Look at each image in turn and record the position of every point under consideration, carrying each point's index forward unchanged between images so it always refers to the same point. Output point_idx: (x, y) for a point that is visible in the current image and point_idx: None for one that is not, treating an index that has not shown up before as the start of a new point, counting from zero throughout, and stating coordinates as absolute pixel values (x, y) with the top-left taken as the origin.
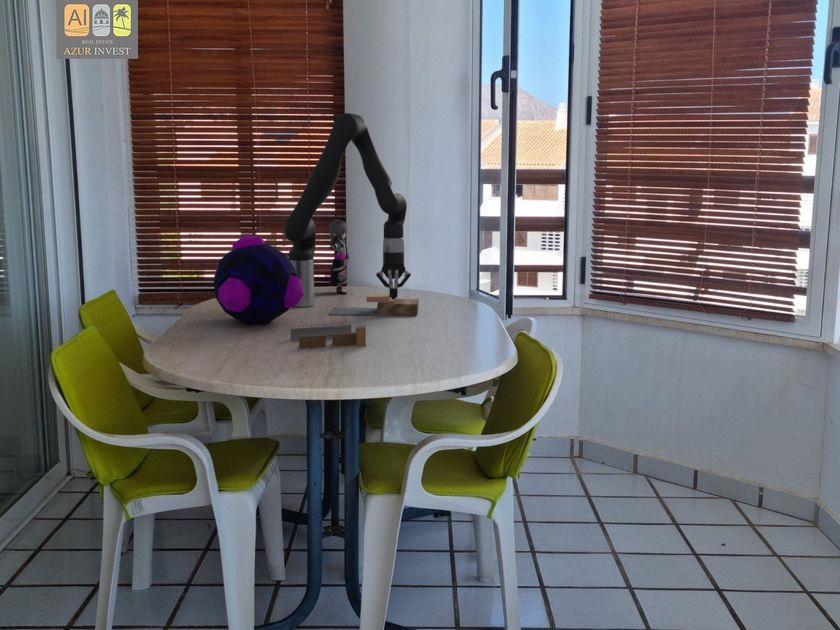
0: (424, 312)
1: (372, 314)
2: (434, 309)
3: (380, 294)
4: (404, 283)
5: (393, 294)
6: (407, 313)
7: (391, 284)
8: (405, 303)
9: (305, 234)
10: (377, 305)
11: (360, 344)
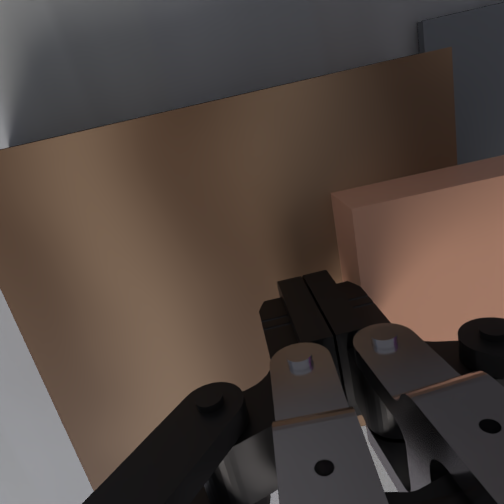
0: (19, 330)
1: (439, 17)
2: (3, 472)
3: None
4: (132, 455)
5: (311, 296)
6: (96, 127)
7: (397, 370)
8: (115, 188)
9: None
10: (438, 51)
11: None
